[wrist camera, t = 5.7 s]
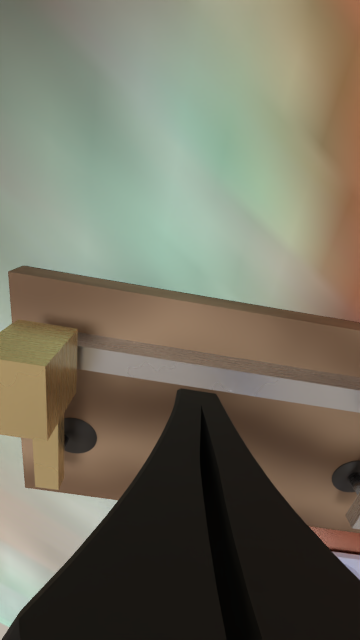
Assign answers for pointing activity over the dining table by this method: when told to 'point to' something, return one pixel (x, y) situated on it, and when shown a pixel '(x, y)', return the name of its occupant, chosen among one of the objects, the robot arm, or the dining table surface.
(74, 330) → the block
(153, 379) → the trammel
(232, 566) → the robot arm
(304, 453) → the slide rail board
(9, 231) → the dining table surface
